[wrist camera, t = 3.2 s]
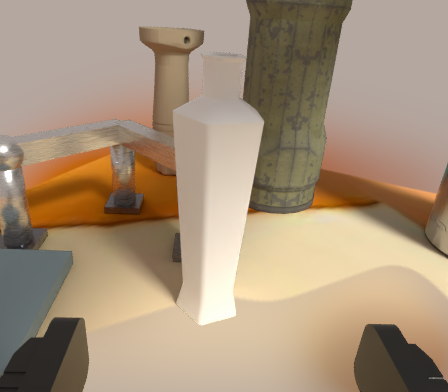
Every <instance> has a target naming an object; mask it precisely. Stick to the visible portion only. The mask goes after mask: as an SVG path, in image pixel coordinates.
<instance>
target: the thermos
mask: <svg viewBox="0 0 448 392" xmlns="http://www.w3.org/2000/svg"><path fill="white" fill-rule="evenodd" d="M246 1H247V6H248V9H249V13H250V27H249V38H248V49H247V60H246V71H245V82H244V93H243V100H244V101H245V102H247V103H248V104H249V105H251V106H252V107H253V108H255V109H256V110H257V112H258V113H259V115H260V116H261V117H262V119H263V120H264V126H263V131H262V137H261V142H260V147H259V153H258V158H257V163H256V169H255V174H254V180H253V185H252V190H251V196H250V201H249V206H248V207H250V208H252V209H255V210H259V211H264V212H269V213H282V214H285V213H295V212H299V211H302V210H305V209H307V208H308V207H310V206H311V205H312V202H313V198H314V189H315V185H316V182H318V180H319V175H320V170H321V165H322V160H323V154H324V149H325V144H326V139H327V138H326V132H325V127H324V119H325V113H326V107H327V102H328V97H329V92H330V86H331V81H332V76H333V70H334V65H335V60H336V54H337V48H338V44H339V38H340V33H341V28H342V23H343V21H344V20H345V18H346V16H347V15H348V13H349V11H350V10H351V5H352V0H246Z"/></svg>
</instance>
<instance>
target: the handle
mask: <svg viewBox="0 0 448 392" xmlns="http://www.w3.org/2000/svg"><path fill="white" fill-rule="evenodd" d="M139 35H140V40H141V41H142V43H144V44H145V45H146V46H148V47H149V48H151V49H152V50H153V51H154V53H155V86H154V106H153V130H156V131H158V132H161V133H163V134H166V135H168V136H171V137H173V138H174V127H173V110H174V109H176V108H178V107H180V106H182V105H184V104H186V103H188V102H189V86H188V85H189V84H188V61H189V54H190V53H191V51H193V50H194V49H196V48H198V47H199V46H200V45H202V44H203V40H204V31H202V30H194V29H184V28H168V27H139ZM155 162H156V161H155ZM156 169H157V171H158V172H161V173H162V174H163V175H176V171H174V170H172V169H170V168H168V167H166V166H164V165H162V164H160V163H158V162H156Z"/></svg>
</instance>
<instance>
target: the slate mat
mask: <svg viewBox="0 0 448 392" xmlns="http://www.w3.org/2000/svg"><path fill="white" fill-rule="evenodd" d="M72 264H73V256H72V251H54V250H22V249H0V377H1V375H3V373H4V370H5V368H6V366H7V365H8V363H9V361H10V359H11V357H12V355H13V354H14V352H16V351H17V350H18V349H19V348H20V347H21V346H22V345H23V344H24V343H25V342H26V341H27V340H28V339H30V338H31V337H35V336H36V334H37V332H38V330H39V328H40V326H41V324H42V322H43V320H44V319H45V317H46V315H47V313H48V311H49V309H50V307H51V305H52V303H53V301H54V299H55V297H56V295H57V293H58V291H59V290H60V288H61V286H62V284H63V282H64V280H65V278H66V276H67V274H68V272H69V270H70V268H71V266H72Z"/></svg>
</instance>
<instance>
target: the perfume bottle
mask: <svg viewBox="0 0 448 392" xmlns="http://www.w3.org/2000/svg"><path fill="white" fill-rule="evenodd" d="M201 55H202V57H203V59H204V62H203V86H202V95H201V96H199V97H197V98H195V99H194V100H192V101H190V102H188V103H186V104H184V105H182V106H180V107H178V108H176V109H174V110H173V127H174V144H175V160H176V176H177V193H178V209H179V226H180V242H181V258H182V275H183V284H182V287H181V290H180V293H179V296H178V298H177V301H176V304H177V305H178V306H179V307H180V308H181V309H182V310H183V311H184V312H185V313H186V314H187V315H188V316H189V317H190V318H191V319H192V320H194V321H195V322H196V323H197V324H198V325H204V324H208V323H211V322H215V321H219V320H223V319H227V318H230V317H234V316H235V315H236V309H235V303H234V296H233V287H234V282H235V276H236V271H237V265H238V260H239V255H240V249H241V244H242V239H243V233H244V228H245V223H246V217H247V212H248V206H249V201H250V196H251V190H252V185H253V180H254V174H255V169H256V163H257V158H258V153H259V147H260V142H261V137H262V131H263V126H264V120H263V119H262V117H261V116H260V115H259V113H258V112H257V110H256V109H255V108H253V107H252V106H251V105H249V104H248V103H247V102H245V101H244V100H243V99H241V98H240V89H241V77H242V66H243V62H244V60H245V59H246V57H245V56H243V55H240V54H231V53H220V52H209V53H201Z"/></svg>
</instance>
